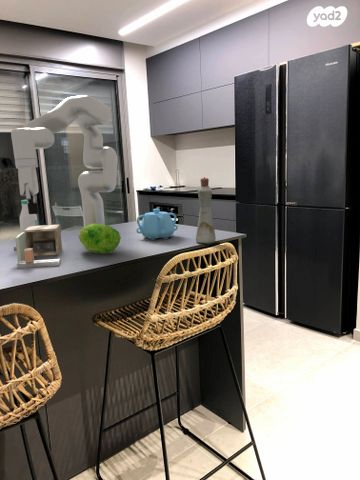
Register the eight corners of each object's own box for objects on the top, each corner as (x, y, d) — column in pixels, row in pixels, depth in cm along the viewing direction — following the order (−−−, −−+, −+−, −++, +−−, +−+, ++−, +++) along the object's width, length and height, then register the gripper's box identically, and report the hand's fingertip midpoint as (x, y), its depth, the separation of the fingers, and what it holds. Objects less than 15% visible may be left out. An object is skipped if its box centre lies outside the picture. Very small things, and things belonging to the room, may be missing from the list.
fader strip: (60, 262, 142) (60, 258, 142) (58, 265, 138) (58, 261, 138) (20, 265, 140) (19, 261, 139) (17, 268, 136) (16, 264, 136)
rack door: (21, 263, 141) (17, 236, 139) (14, 264, 141) (11, 237, 139) (28, 255, 153) (25, 230, 151) (22, 256, 153) (19, 231, 151)
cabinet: (62, 249, 165) (59, 224, 163) (58, 254, 155) (56, 228, 153) (32, 250, 163) (29, 226, 161) (27, 256, 153) (24, 230, 151)
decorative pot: (154, 233, 195) (153, 206, 192) (181, 235, 186) (180, 207, 183) (133, 239, 181) (131, 210, 179) (161, 242, 173) (159, 211, 170)
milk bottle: (34, 245, 174) (29, 200, 170) (18, 245, 176) (13, 200, 172) (43, 241, 182) (38, 198, 178) (28, 241, 183) (23, 199, 179)
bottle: (191, 243, 167) (190, 177, 162) (200, 239, 175) (199, 176, 169) (210, 245, 163) (209, 177, 158) (218, 241, 171) (218, 176, 165)
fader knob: (34, 260, 140) (32, 247, 139) (32, 262, 137) (31, 249, 136) (27, 260, 139) (25, 248, 138) (25, 262, 136) (23, 249, 135)
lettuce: (97, 246, 168) (95, 219, 166) (129, 254, 152) (127, 224, 149) (70, 251, 159) (68, 223, 157) (101, 260, 143) (99, 229, 141)
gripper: (20, 163, 147) (27, 211, 152) (10, 165, 133) (18, 218, 137) (41, 162, 148) (47, 209, 153) (33, 164, 134) (40, 216, 138)
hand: (33, 213), depth 145 cm, fingers closed
